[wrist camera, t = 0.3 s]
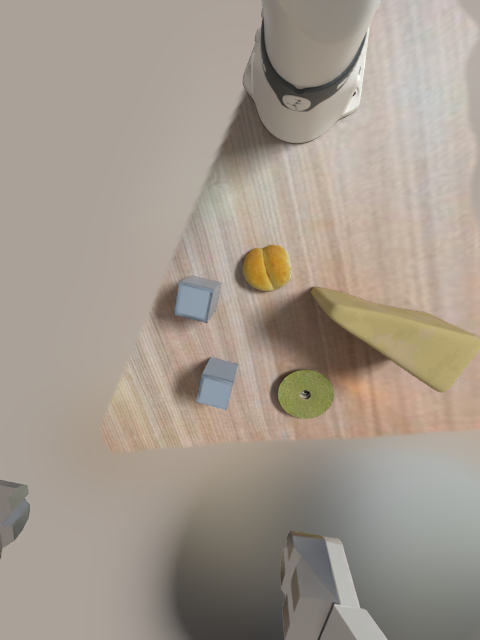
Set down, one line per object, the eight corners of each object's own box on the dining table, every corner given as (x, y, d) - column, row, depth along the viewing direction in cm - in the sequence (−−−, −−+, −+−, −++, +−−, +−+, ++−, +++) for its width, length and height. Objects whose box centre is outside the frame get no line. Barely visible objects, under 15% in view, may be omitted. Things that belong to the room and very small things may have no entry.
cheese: (299, 311, 55) (310, 337, 40) (323, 265, 52) (343, 275, 38) (401, 357, 55) (447, 398, 41) (430, 314, 52) (491, 342, 38)
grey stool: (210, 357, 59) (201, 374, 52) (237, 364, 59) (233, 382, 51) (205, 381, 61) (195, 401, 53) (231, 388, 61) (226, 409, 53)
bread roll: (239, 252, 53) (237, 253, 49) (286, 241, 52) (287, 241, 48) (248, 294, 55) (247, 298, 51) (294, 285, 54) (296, 288, 50)
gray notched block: (192, 275, 55) (179, 281, 47) (221, 282, 55) (213, 289, 47) (186, 304, 57) (173, 314, 49) (215, 311, 56) (206, 322, 49)
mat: (266, 387, 60) (266, 392, 58) (307, 355, 57) (308, 359, 55) (301, 422, 61) (302, 428, 60) (343, 392, 58) (345, 397, 57)
